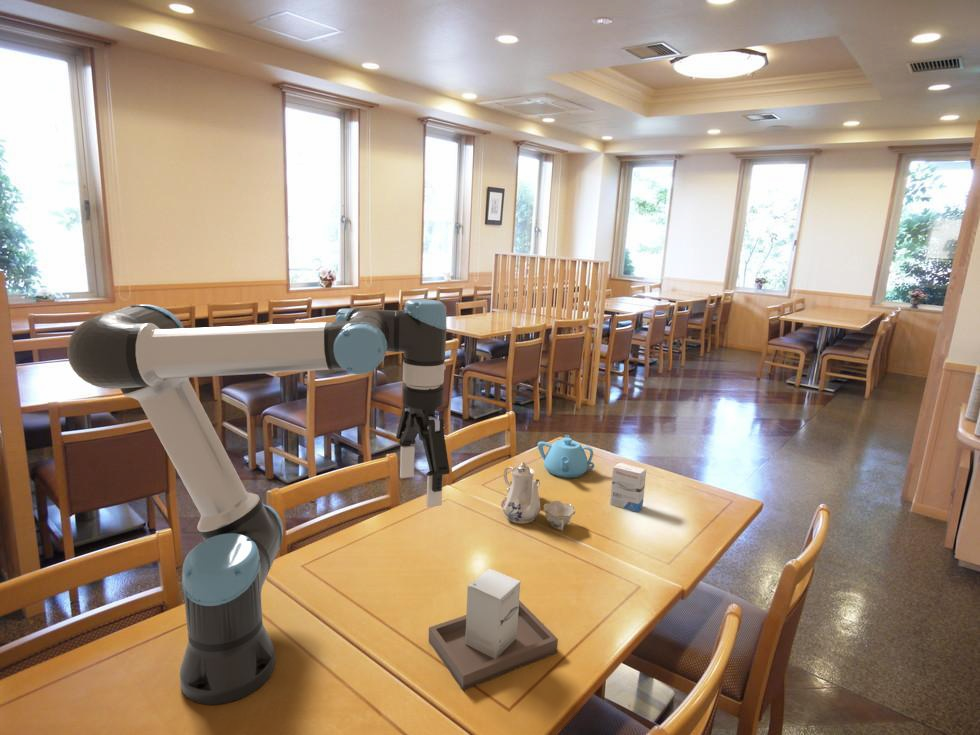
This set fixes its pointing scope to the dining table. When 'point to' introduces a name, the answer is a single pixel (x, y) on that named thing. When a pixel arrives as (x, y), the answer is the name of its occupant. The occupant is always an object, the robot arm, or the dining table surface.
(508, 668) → the tray
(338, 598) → the dining table surface
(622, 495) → the ink box
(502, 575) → the supplement box
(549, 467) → the teapot
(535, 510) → the chinaware
